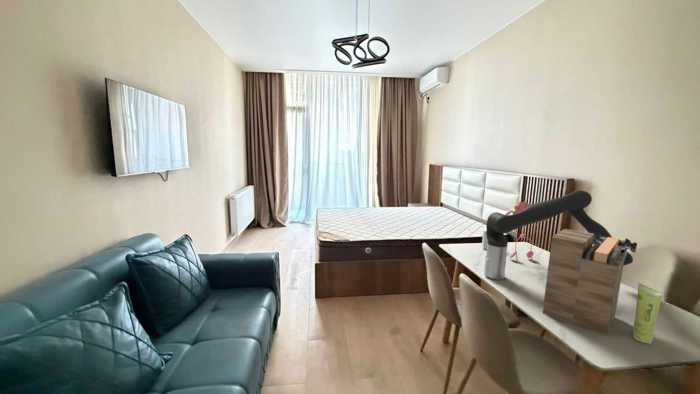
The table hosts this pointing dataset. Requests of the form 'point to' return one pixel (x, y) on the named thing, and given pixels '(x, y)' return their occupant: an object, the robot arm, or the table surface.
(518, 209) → the figurine
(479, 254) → the table surface
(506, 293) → the table surface
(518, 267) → the table surface
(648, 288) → the tube
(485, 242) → the supplement box
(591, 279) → the wooden knife block
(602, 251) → the bar
